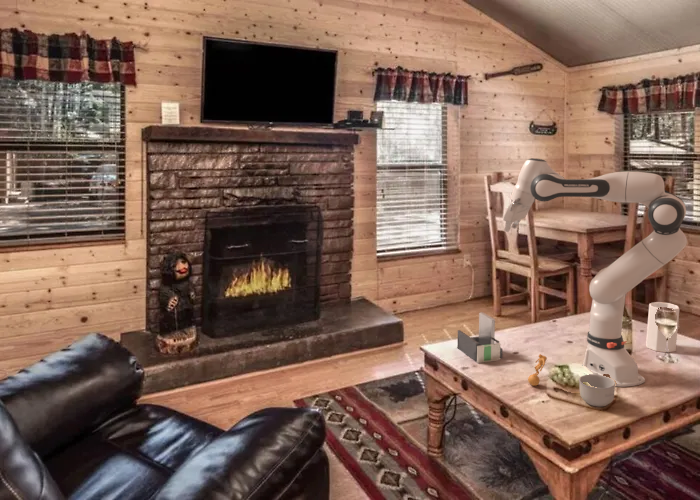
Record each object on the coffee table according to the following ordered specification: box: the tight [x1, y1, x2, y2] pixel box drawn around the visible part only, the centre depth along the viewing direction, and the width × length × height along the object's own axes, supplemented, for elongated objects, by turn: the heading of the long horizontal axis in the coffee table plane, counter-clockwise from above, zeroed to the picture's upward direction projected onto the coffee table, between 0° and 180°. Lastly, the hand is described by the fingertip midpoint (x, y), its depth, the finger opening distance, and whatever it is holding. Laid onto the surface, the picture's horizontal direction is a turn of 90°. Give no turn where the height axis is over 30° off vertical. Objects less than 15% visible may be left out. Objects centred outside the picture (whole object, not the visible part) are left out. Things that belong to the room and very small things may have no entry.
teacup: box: [578, 373, 616, 408], centre depth 175 cm, size 14×11×8 cm
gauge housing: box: [457, 329, 503, 364], centre depth 218 cm, size 18×12×8 cm
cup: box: [645, 301, 680, 353], centre depth 218 cm, size 11×11×18 cm
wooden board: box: [478, 311, 500, 345], centre depth 216 cm, size 14×2×14 cm, turn 16°
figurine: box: [527, 353, 547, 387], centre depth 187 cm, size 8×6×12 cm
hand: (510, 229), depth 211 cm, fingers open, 8 cm apart
